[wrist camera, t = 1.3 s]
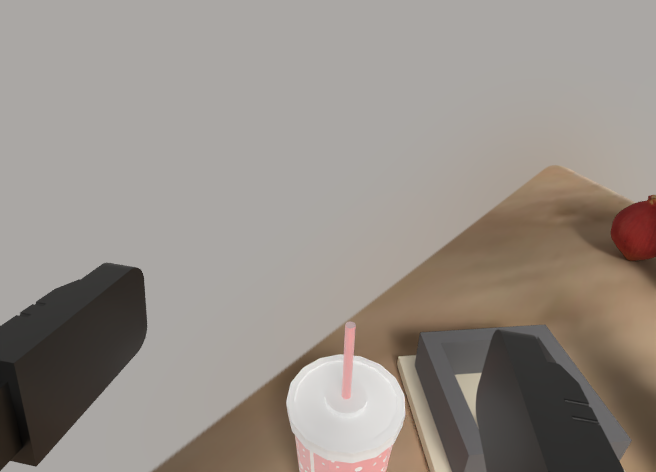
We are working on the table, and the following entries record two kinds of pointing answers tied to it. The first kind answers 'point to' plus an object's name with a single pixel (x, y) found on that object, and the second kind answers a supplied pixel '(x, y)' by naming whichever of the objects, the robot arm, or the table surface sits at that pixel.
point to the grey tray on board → (473, 394)
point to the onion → (636, 230)
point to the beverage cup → (345, 412)
